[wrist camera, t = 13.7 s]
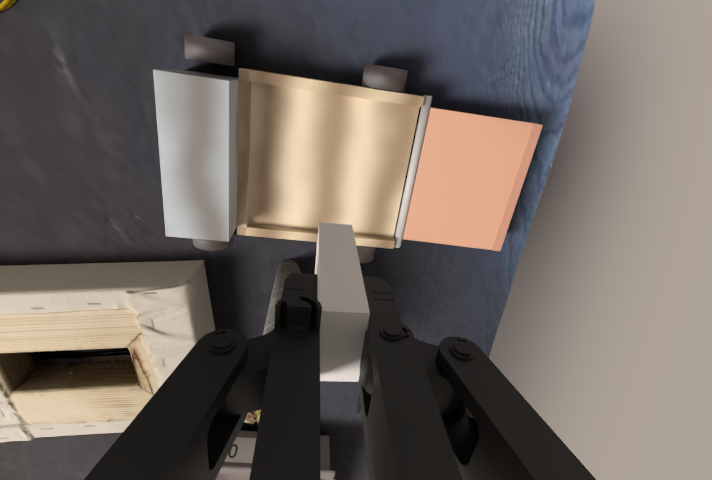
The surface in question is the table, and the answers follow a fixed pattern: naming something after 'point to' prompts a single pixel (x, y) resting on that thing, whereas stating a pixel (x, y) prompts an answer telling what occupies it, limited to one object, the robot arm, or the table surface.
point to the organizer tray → (241, 454)
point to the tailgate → (464, 178)
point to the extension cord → (6, 4)
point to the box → (93, 341)
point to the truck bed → (281, 152)
